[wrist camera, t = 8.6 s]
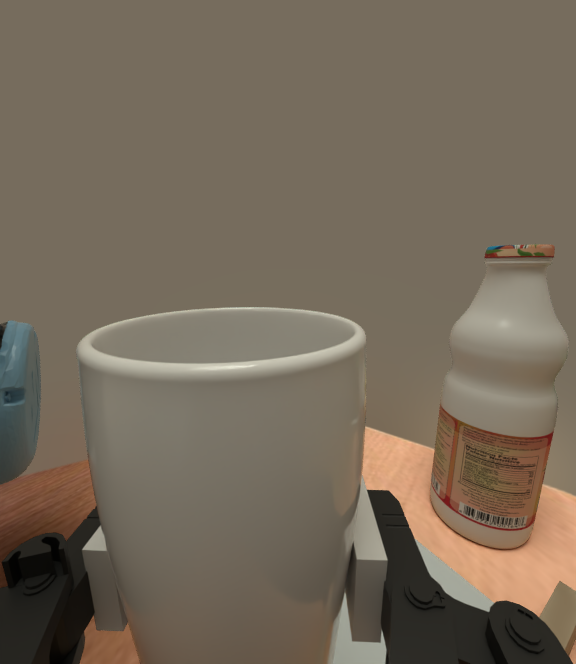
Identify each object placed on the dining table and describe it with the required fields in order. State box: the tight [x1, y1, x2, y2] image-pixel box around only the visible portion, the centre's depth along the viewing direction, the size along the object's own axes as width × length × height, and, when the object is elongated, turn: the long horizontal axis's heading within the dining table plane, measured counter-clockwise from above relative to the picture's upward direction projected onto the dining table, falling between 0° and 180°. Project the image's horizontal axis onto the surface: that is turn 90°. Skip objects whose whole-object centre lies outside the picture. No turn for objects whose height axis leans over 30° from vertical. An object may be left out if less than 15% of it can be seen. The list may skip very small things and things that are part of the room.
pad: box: [333, 539, 494, 664], centre depth 25 cm, size 16×16×1 cm
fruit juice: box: [430, 245, 569, 549], centre depth 30 cm, size 9×9×28 cm
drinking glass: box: [76, 307, 367, 664], centre depth 9 cm, size 7×7×15 cm
